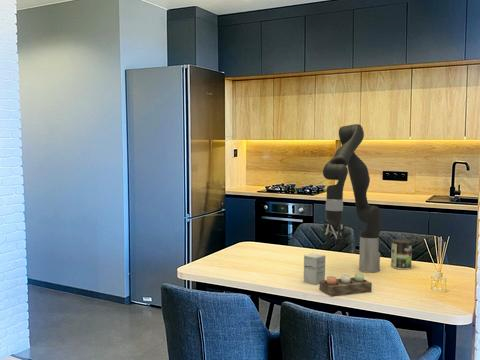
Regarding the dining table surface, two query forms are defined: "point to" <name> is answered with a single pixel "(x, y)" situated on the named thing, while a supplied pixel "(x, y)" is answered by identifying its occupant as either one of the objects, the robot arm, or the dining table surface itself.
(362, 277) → the sage button
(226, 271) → the dining table surface
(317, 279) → the supplement box
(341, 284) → the frame
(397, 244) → the coffee can
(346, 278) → the cream pill shape
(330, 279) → the terracotta button
